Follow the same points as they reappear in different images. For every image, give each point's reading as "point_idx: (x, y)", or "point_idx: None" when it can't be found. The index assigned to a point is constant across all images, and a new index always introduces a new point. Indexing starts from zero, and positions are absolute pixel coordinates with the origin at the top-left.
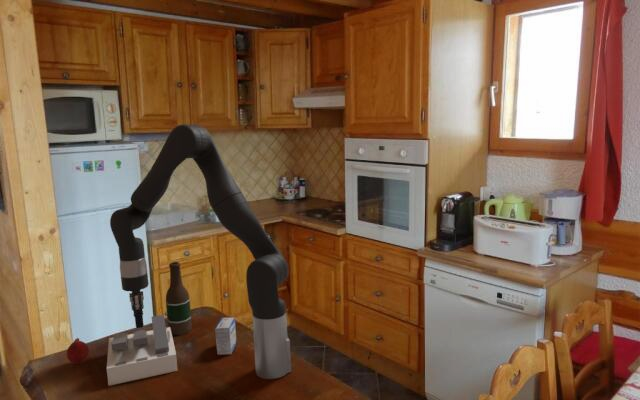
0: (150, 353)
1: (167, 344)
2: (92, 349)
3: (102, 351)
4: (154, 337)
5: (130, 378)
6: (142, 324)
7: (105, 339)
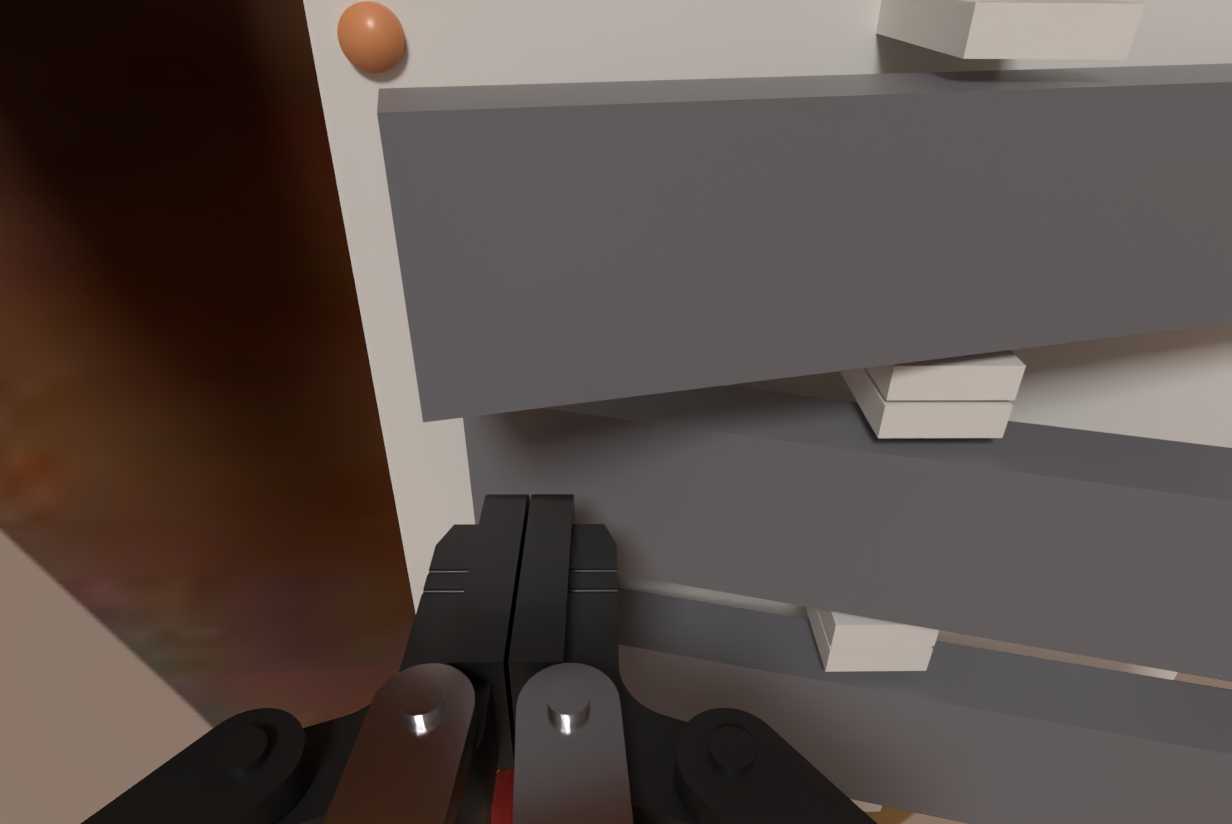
0: (1186, 333)
1: None
2: (324, 691)
3: (392, 633)
4: (1129, 328)
5: None
6: (573, 530)
7: (128, 624)
